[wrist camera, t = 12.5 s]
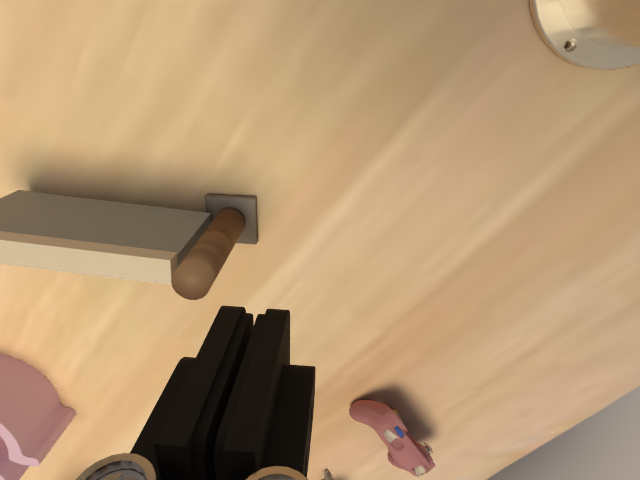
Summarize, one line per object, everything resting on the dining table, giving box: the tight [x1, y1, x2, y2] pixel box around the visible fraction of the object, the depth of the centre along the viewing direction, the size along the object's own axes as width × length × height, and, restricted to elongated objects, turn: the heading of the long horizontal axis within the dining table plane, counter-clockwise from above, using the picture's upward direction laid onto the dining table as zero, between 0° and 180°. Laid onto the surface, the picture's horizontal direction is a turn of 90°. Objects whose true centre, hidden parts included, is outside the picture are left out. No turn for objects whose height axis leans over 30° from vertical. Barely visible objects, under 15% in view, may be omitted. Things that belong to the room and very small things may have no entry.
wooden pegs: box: [171, 194, 258, 300], centre depth 38 cm, size 25×4×12 cm, turn 178°
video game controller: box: [349, 400, 435, 477], centre depth 46 cm, size 10×5×7 cm, turn 34°
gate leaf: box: [0, 190, 211, 285], centre depth 34 cm, size 17×2×9 cm, turn 84°
